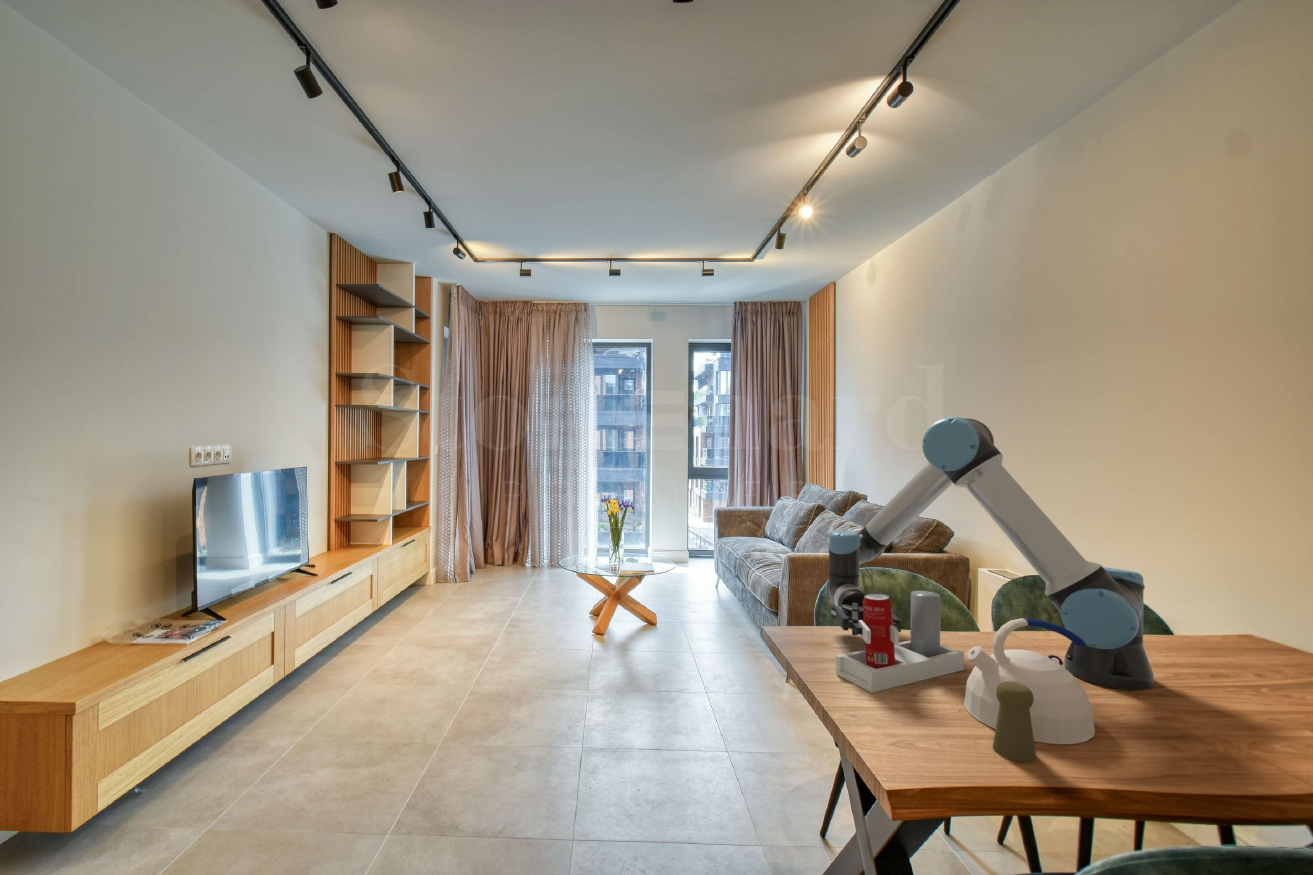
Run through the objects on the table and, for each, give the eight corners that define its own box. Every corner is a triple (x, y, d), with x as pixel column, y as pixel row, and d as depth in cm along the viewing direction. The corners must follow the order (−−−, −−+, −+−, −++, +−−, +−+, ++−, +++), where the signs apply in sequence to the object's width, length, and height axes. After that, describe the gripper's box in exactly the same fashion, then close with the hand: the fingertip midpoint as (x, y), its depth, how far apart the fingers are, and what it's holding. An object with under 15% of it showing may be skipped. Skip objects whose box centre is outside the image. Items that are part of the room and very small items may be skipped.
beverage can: (900, 671, 121) (901, 599, 121) (870, 672, 121) (871, 599, 121) (886, 660, 127) (886, 591, 127) (857, 661, 127) (858, 592, 127)
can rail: (925, 654, 138) (925, 586, 137) (963, 669, 129) (964, 596, 128) (836, 674, 126) (836, 599, 126) (871, 692, 117) (872, 612, 117)
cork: (984, 742, 98) (985, 677, 98) (1018, 741, 99) (1019, 676, 99) (1009, 763, 92) (1009, 693, 92) (1045, 761, 93) (1046, 692, 93)
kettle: (943, 690, 118) (944, 601, 118) (1050, 693, 117) (1051, 603, 117) (996, 743, 98) (997, 636, 98) (1125, 748, 97) (1126, 639, 97)
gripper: (891, 620, 141) (928, 657, 118) (815, 618, 143) (837, 654, 119) (891, 589, 141) (928, 620, 118) (815, 587, 143) (837, 617, 119)
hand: (882, 637), depth 119 cm, fingers closed on beverage can, 5 cm apart
